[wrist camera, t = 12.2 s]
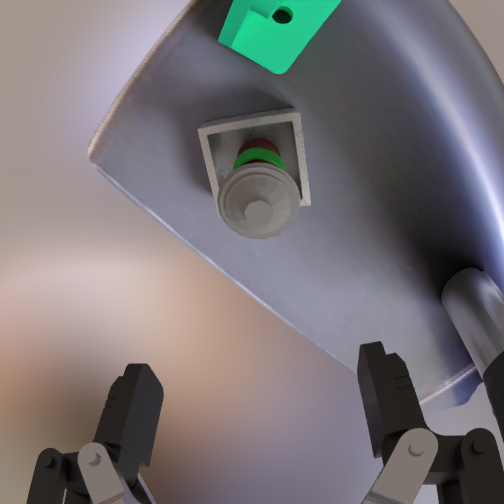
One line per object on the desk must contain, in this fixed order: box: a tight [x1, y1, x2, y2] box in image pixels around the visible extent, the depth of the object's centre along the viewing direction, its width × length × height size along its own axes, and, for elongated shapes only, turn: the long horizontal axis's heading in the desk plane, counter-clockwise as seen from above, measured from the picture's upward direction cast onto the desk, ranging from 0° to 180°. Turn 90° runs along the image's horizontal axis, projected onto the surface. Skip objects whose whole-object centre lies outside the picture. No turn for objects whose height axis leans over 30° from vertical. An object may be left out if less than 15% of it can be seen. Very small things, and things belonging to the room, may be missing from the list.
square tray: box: [197, 107, 311, 218], centre depth 33 cm, size 10×10×4 cm
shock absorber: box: [217, 139, 301, 239], centre depth 29 cm, size 6×6×15 cm
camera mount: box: [218, 0, 341, 74], centre depth 22 cm, size 12×8×10 cm, turn 147°
